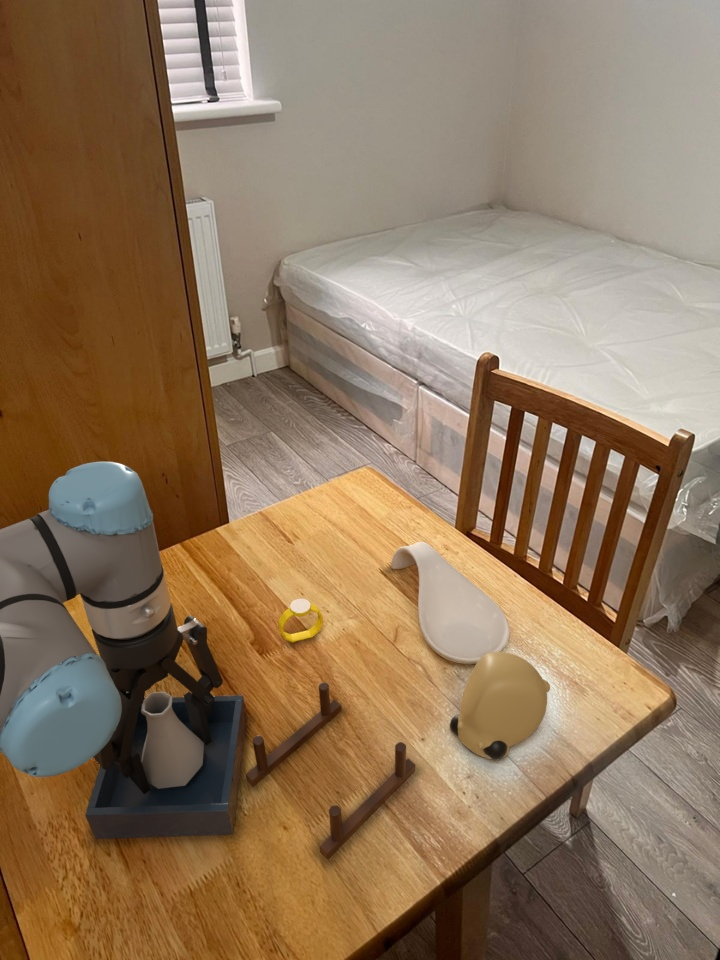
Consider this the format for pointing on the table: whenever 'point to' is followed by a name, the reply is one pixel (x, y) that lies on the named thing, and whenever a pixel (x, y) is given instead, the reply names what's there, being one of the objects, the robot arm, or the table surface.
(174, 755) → the flask
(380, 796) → the drying rack
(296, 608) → the watch
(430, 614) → the spoon rest
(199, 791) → the basin
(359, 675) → the table surface
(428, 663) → the table surface
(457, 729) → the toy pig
